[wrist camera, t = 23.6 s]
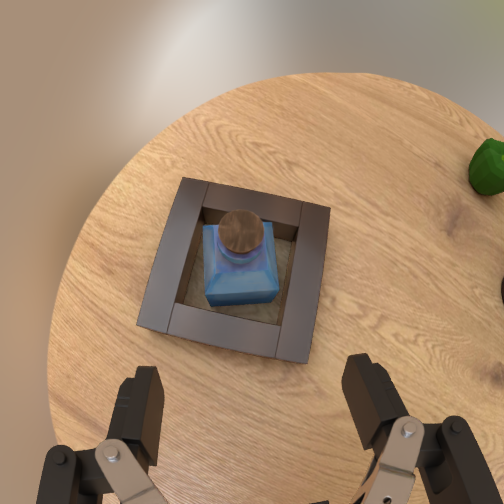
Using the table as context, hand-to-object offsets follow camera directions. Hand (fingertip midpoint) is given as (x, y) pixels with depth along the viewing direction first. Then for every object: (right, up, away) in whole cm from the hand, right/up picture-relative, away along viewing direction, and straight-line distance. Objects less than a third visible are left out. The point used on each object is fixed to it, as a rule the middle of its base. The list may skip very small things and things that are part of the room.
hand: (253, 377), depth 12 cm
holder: (-1, +3, +20) cm, 21 cm away
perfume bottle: (-1, +3, +21) cm, 21 cm away
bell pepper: (+37, +17, +28) cm, 49 cm away
